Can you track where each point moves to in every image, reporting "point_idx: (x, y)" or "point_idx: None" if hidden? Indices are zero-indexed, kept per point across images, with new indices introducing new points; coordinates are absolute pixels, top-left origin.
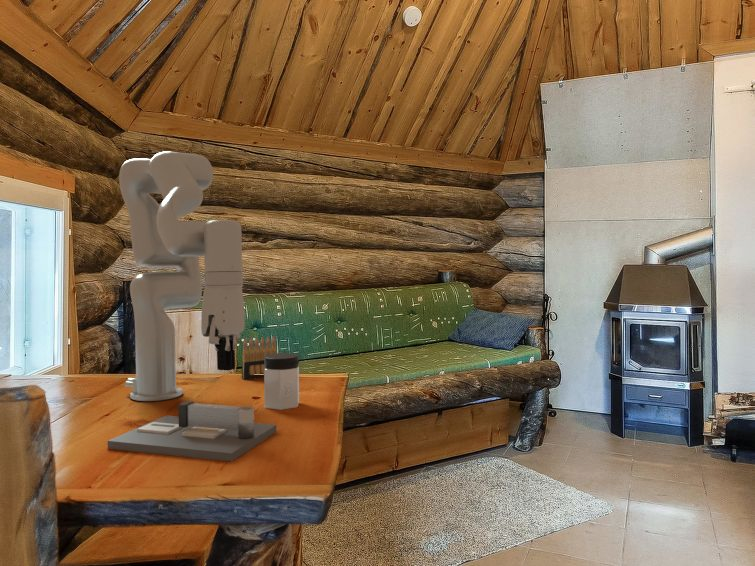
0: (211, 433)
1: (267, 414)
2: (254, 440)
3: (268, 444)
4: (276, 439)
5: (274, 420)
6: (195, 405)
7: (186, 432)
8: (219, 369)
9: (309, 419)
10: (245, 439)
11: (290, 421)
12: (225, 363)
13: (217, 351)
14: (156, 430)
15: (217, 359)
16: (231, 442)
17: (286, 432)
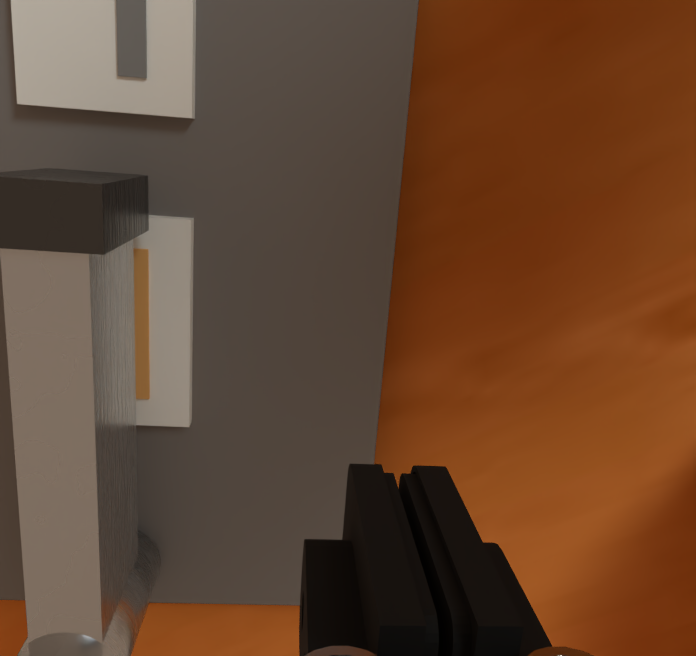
0: None
1: (670, 417)
2: None
3: (170, 616)
4: (249, 620)
5: (556, 497)
6: (27, 314)
7: None
8: (347, 485)
9: (591, 643)
10: None
11: (546, 575)
12: (300, 639)
13: (378, 623)
14: (15, 3)
15: (358, 536)
16: (15, 528)
17: None
